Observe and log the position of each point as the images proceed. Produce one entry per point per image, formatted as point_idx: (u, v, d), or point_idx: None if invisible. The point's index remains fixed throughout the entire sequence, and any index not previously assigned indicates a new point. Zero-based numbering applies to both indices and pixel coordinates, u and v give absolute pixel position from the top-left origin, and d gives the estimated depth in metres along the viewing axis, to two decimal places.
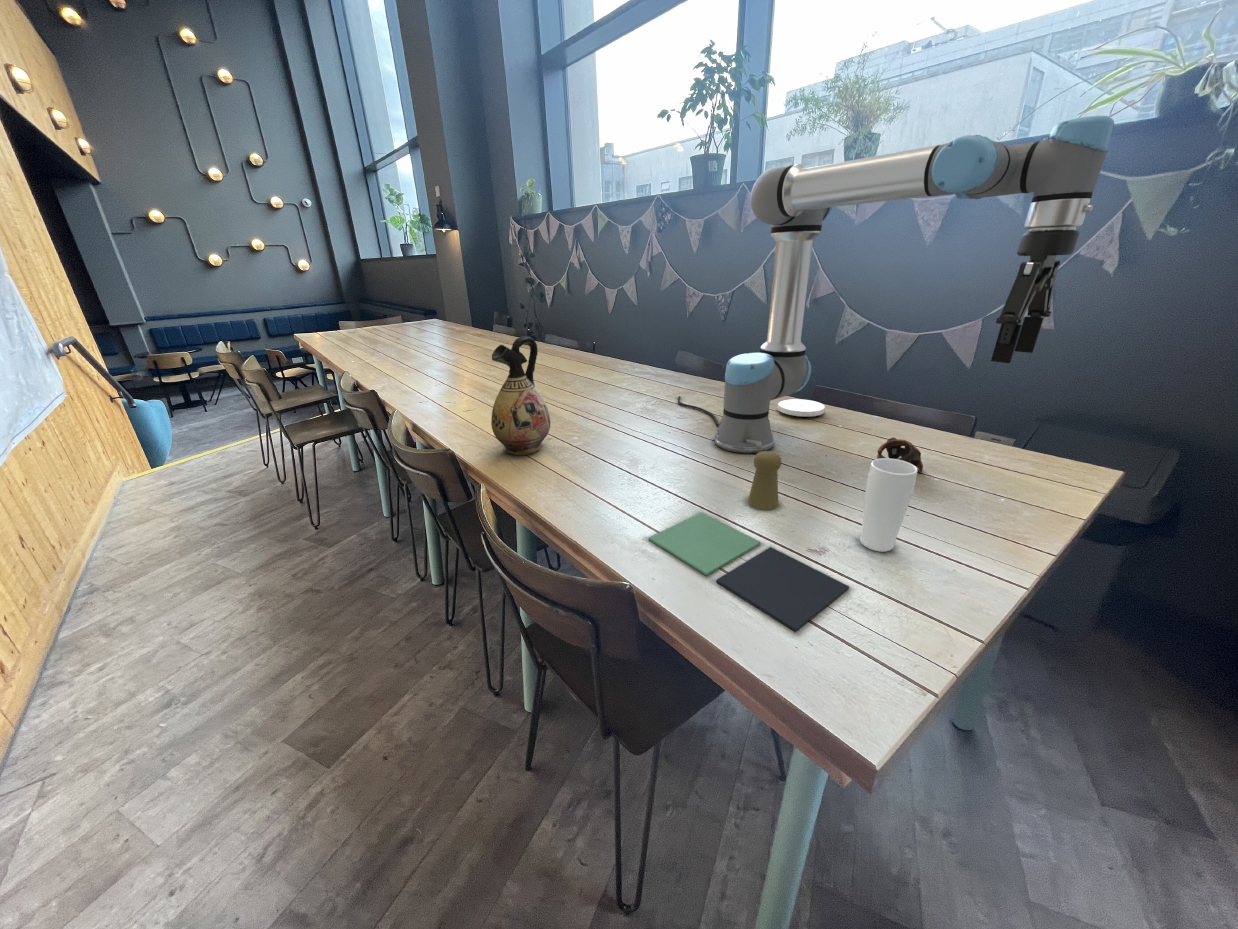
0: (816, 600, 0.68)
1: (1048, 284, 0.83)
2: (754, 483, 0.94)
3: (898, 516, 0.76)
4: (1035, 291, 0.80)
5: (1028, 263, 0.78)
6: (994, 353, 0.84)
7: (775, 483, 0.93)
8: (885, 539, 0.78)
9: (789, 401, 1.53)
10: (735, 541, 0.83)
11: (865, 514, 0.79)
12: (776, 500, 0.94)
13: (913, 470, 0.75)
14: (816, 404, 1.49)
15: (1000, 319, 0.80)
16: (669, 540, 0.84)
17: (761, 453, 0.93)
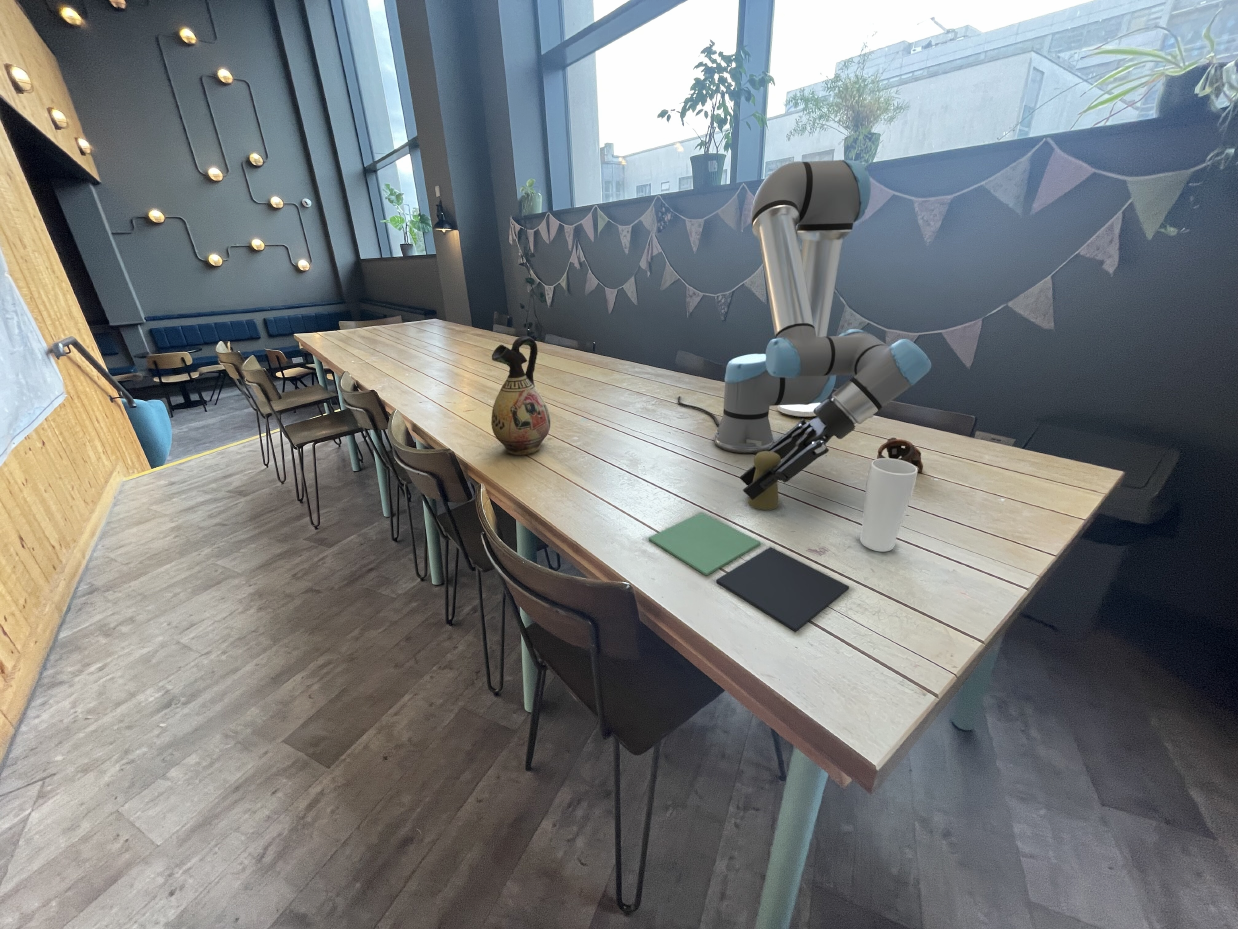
0: (816, 600, 0.68)
1: None
2: None
3: (898, 516, 0.76)
4: None
5: (822, 446, 0.83)
6: (749, 487, 0.92)
7: (775, 483, 0.93)
8: (885, 539, 0.78)
9: None
10: (735, 541, 0.83)
11: (865, 514, 0.79)
12: (776, 500, 0.94)
13: (913, 470, 0.75)
14: (816, 404, 1.49)
15: (776, 474, 0.87)
16: (669, 540, 0.84)
17: (761, 453, 0.93)
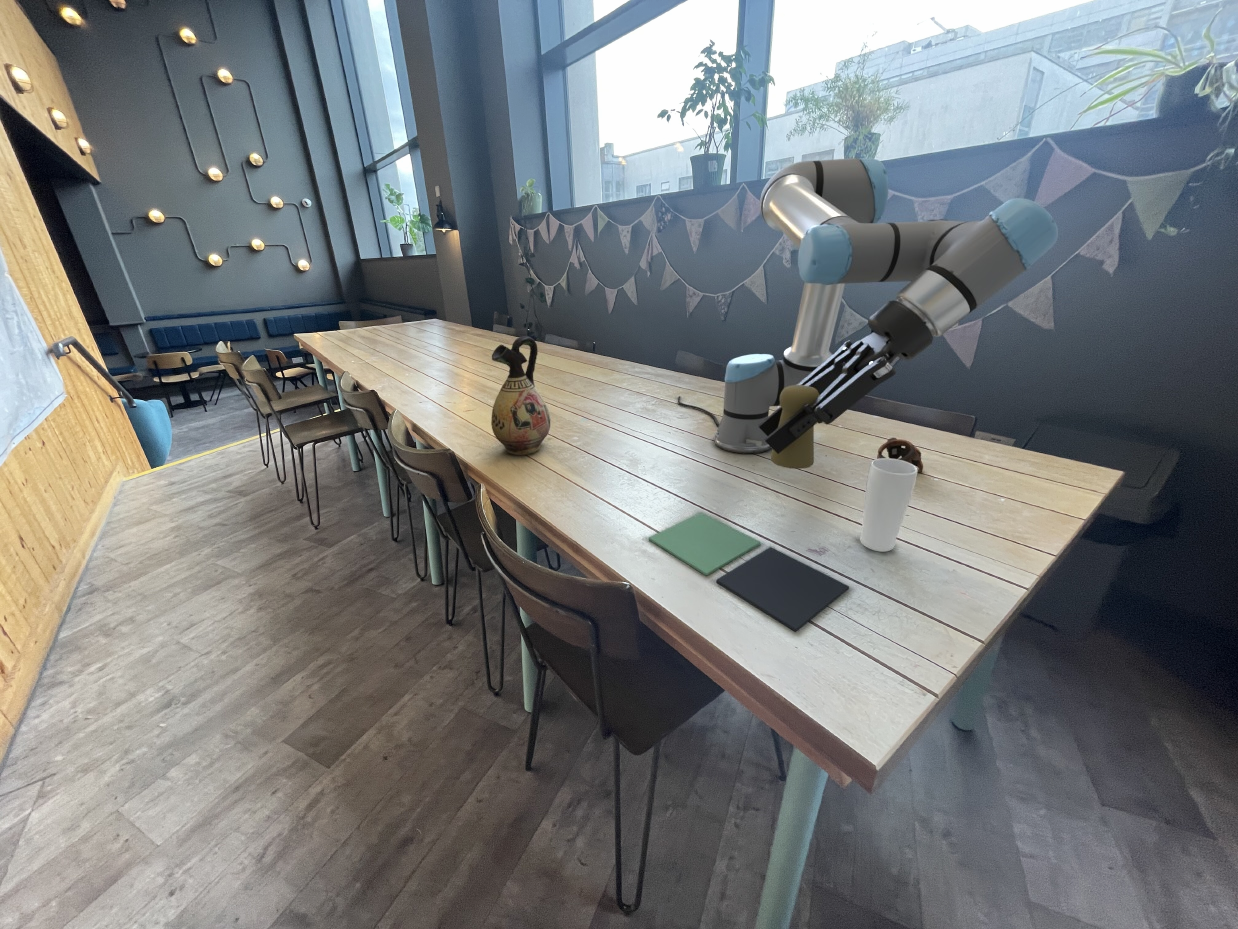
0: (816, 600, 0.68)
1: None
2: None
3: (898, 516, 0.76)
4: None
5: (887, 366, 0.56)
6: (774, 435, 0.64)
7: (811, 430, 0.65)
8: (885, 539, 0.78)
9: None
10: (735, 541, 0.83)
11: (865, 514, 0.79)
12: (811, 455, 0.66)
13: (913, 470, 0.75)
14: None
15: (816, 412, 0.59)
16: (669, 540, 0.84)
17: (791, 386, 0.65)
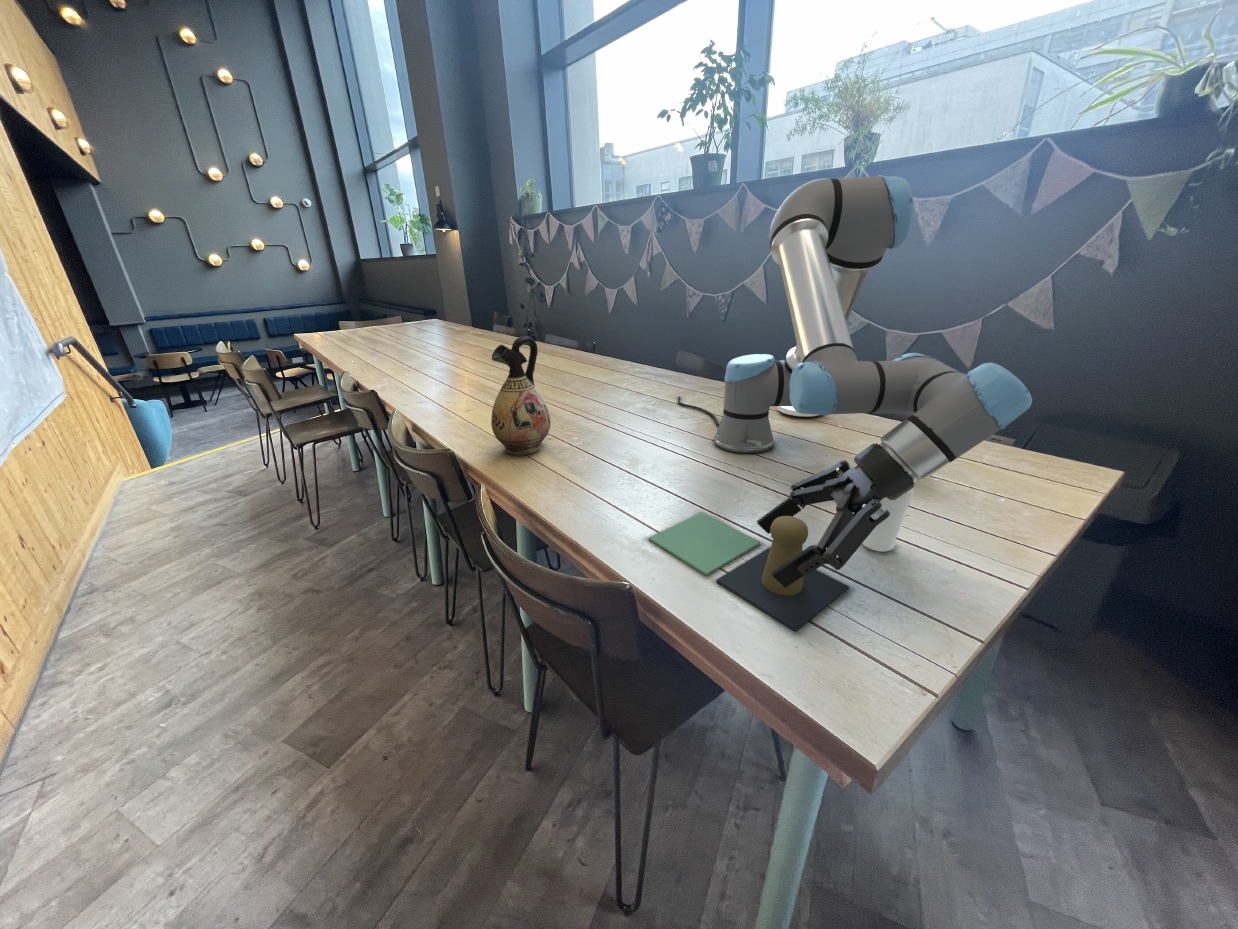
0: (816, 600, 0.68)
1: None
2: (771, 559, 0.70)
3: (898, 516, 0.76)
4: None
5: (882, 508, 0.58)
6: (781, 571, 0.63)
7: None
8: (885, 539, 0.78)
9: None
10: (735, 541, 0.83)
11: None
12: (800, 582, 0.70)
13: None
14: None
15: (826, 558, 0.58)
16: (669, 540, 0.84)
17: (781, 519, 0.68)
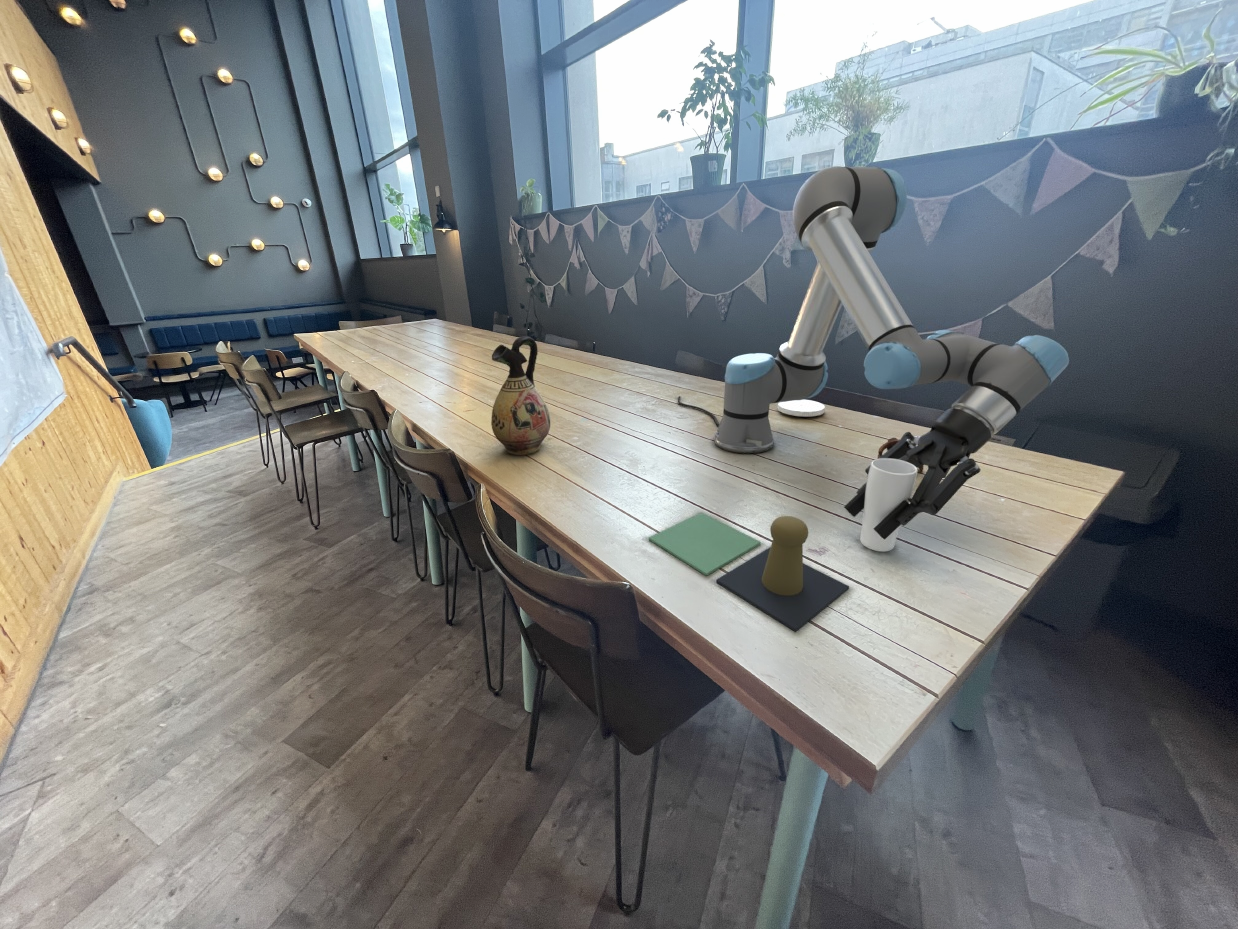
0: (816, 600, 0.68)
1: (924, 463, 0.79)
2: (771, 559, 0.70)
3: None
4: None
5: (976, 465, 0.70)
6: (883, 525, 0.75)
7: (799, 560, 0.68)
8: (885, 539, 0.78)
9: (789, 401, 1.53)
10: (735, 541, 0.83)
11: (865, 514, 0.79)
12: (800, 582, 0.70)
13: (913, 470, 0.75)
14: (816, 404, 1.49)
15: (926, 507, 0.71)
16: (669, 540, 0.84)
17: (781, 519, 0.68)
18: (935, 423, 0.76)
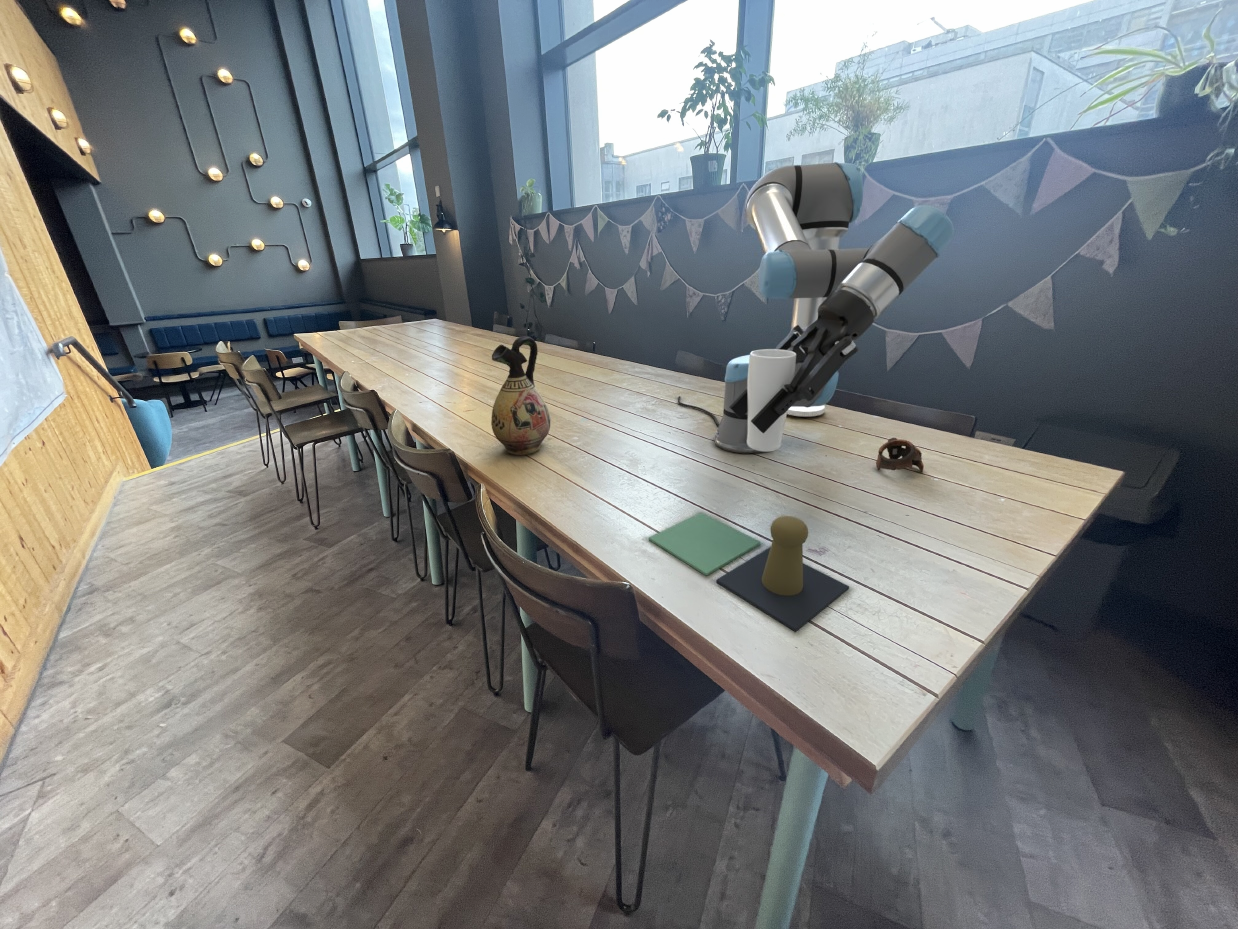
0: (816, 600, 0.68)
1: None
2: (771, 559, 0.70)
3: None
4: None
5: (852, 343, 0.64)
6: (760, 416, 0.69)
7: (799, 560, 0.68)
8: (768, 436, 0.72)
9: None
10: (735, 541, 0.83)
11: (748, 411, 0.73)
12: (800, 582, 0.70)
13: None
14: None
15: (800, 391, 0.66)
16: (669, 540, 0.84)
17: (781, 519, 0.68)
18: (818, 308, 0.71)
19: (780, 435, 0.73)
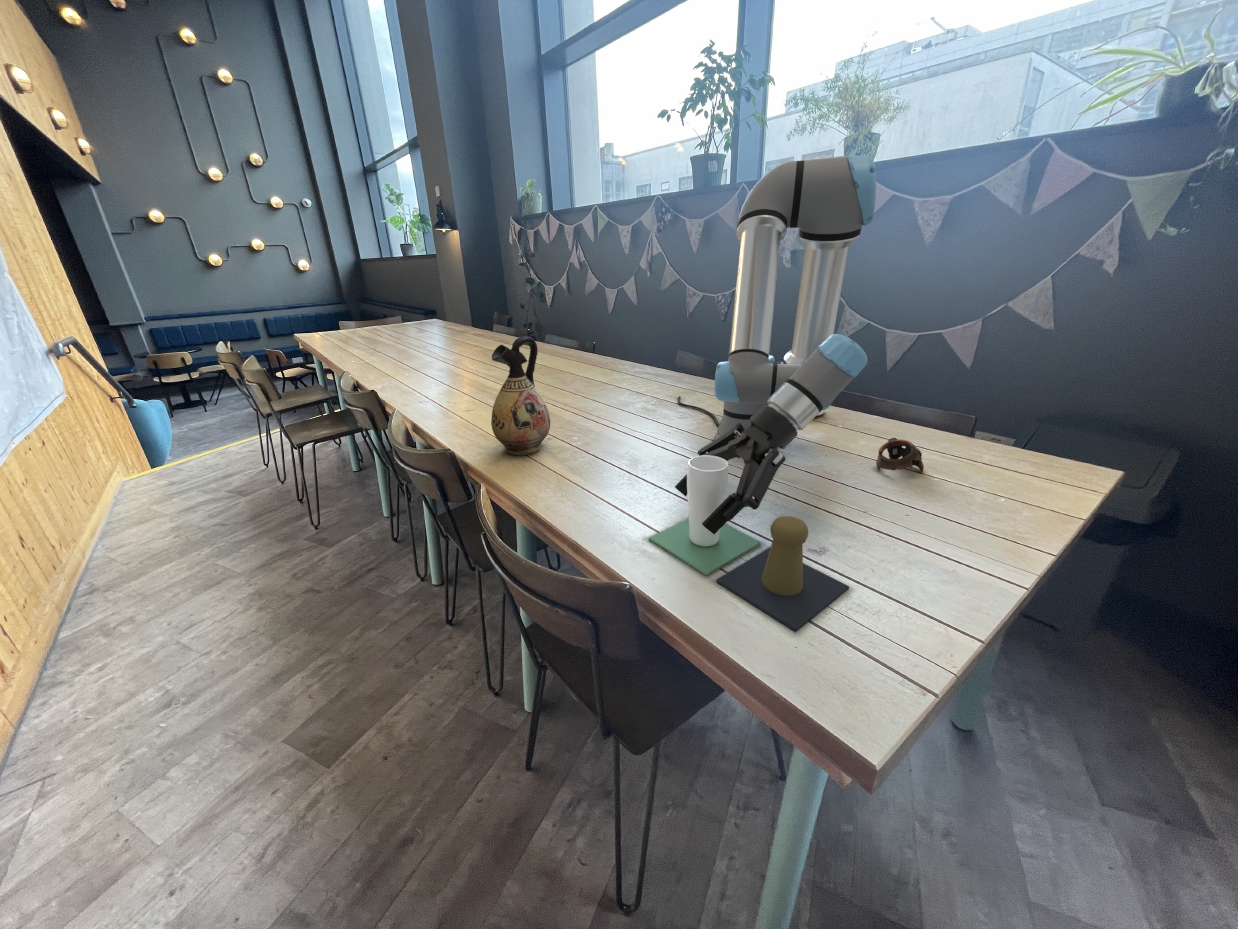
0: (816, 600, 0.68)
1: None
2: (771, 559, 0.70)
3: (712, 511, 0.78)
4: None
5: (780, 454, 0.72)
6: (710, 520, 0.74)
7: (799, 560, 0.68)
8: (705, 534, 0.80)
9: None
10: (735, 541, 0.83)
11: (688, 510, 0.81)
12: (800, 582, 0.70)
13: None
14: None
15: (746, 501, 0.70)
16: (669, 540, 0.84)
17: (781, 519, 0.68)
18: (750, 419, 0.78)
19: (717, 532, 0.81)
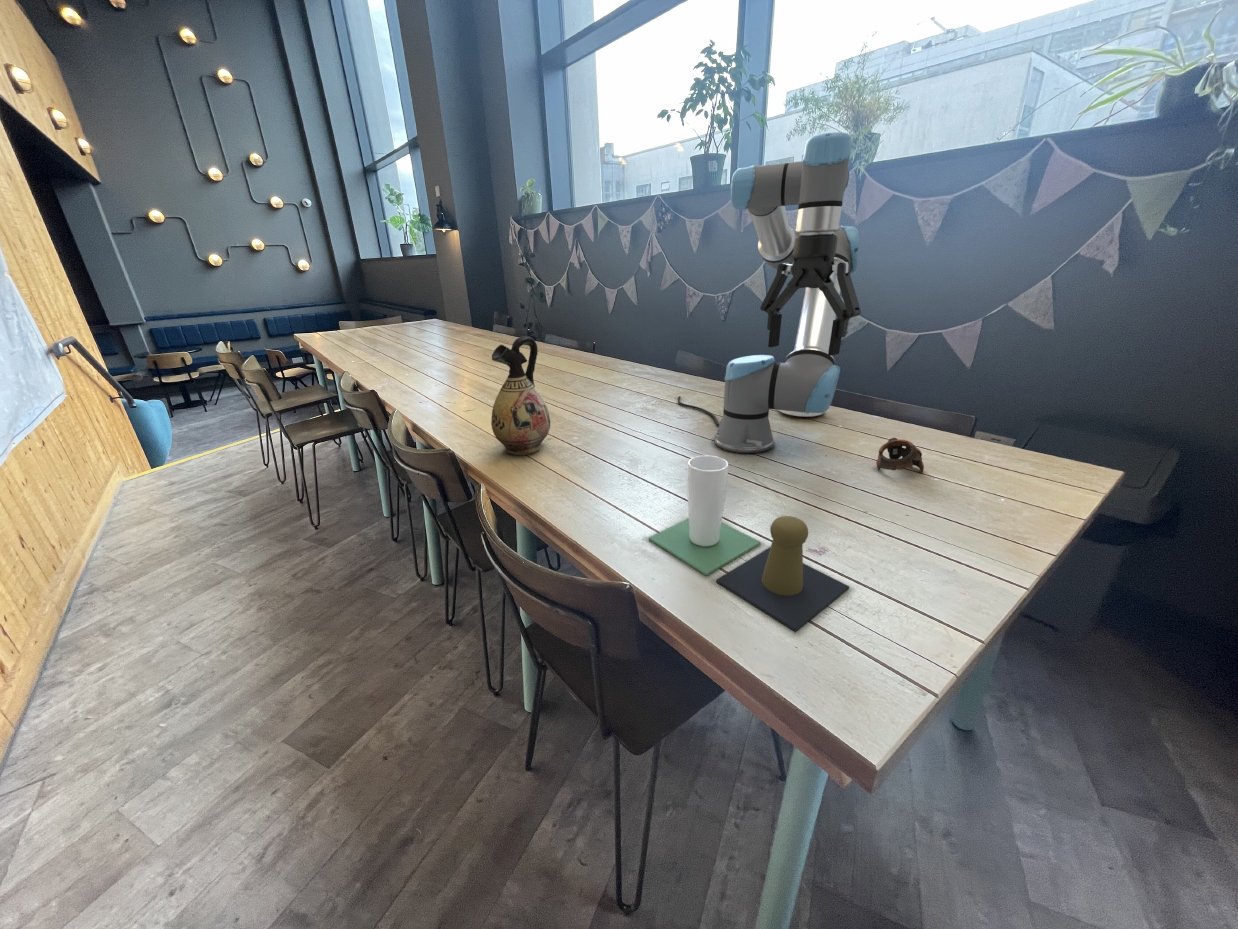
0: (816, 600, 0.68)
1: None
2: (771, 559, 0.70)
3: (712, 511, 0.78)
4: None
5: (846, 263, 0.84)
6: (833, 348, 0.89)
7: (799, 560, 0.68)
8: (705, 534, 0.80)
9: None
10: (735, 541, 0.83)
11: (688, 510, 0.81)
12: (800, 582, 0.70)
13: None
14: None
15: (853, 315, 0.85)
16: (669, 540, 0.84)
17: (781, 519, 0.68)
18: (795, 256, 0.88)
19: (717, 533, 0.81)
